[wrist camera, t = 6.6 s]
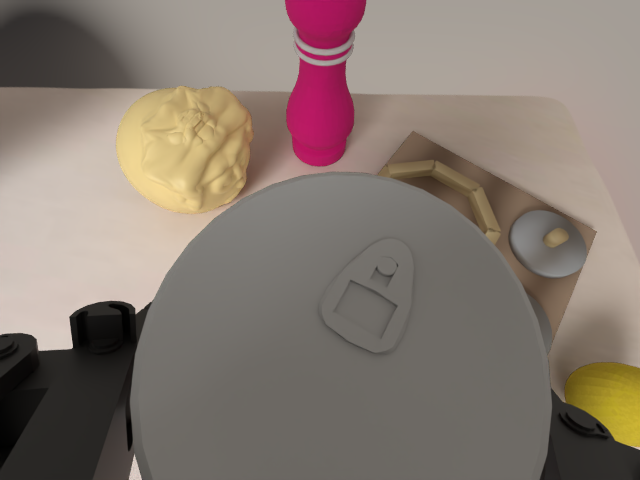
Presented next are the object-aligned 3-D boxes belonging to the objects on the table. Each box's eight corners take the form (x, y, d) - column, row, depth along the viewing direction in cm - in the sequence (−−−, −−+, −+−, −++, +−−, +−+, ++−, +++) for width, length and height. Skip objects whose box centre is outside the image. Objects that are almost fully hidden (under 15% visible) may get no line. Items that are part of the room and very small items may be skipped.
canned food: (408, 318, 17) (544, 207, 7) (385, 500, 14) (589, 752, 4) (272, 282, 18) (231, 136, 8) (215, 448, 14) (15, 549, 4)
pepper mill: (314, 181, 36) (320, -30, 18) (276, 141, 38) (247, -83, 20) (361, 150, 38) (411, -68, 20) (323, 114, 40) (335, -112, 22)
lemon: (559, 351, 29) (643, 340, 22) (619, 397, 28) (730, 402, 20) (531, 402, 27) (613, 408, 20) (593, 454, 26) (706, 481, 18)
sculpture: (221, 247, 32) (183, 185, 22) (125, 200, 34) (51, 125, 24) (276, 165, 37) (265, 84, 27) (188, 128, 39) (148, 40, 29)
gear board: (311, 258, 32) (312, 244, 29) (410, 137, 39) (419, 114, 36) (519, 405, 27) (547, 407, 24) (589, 235, 34) (618, 220, 31)
